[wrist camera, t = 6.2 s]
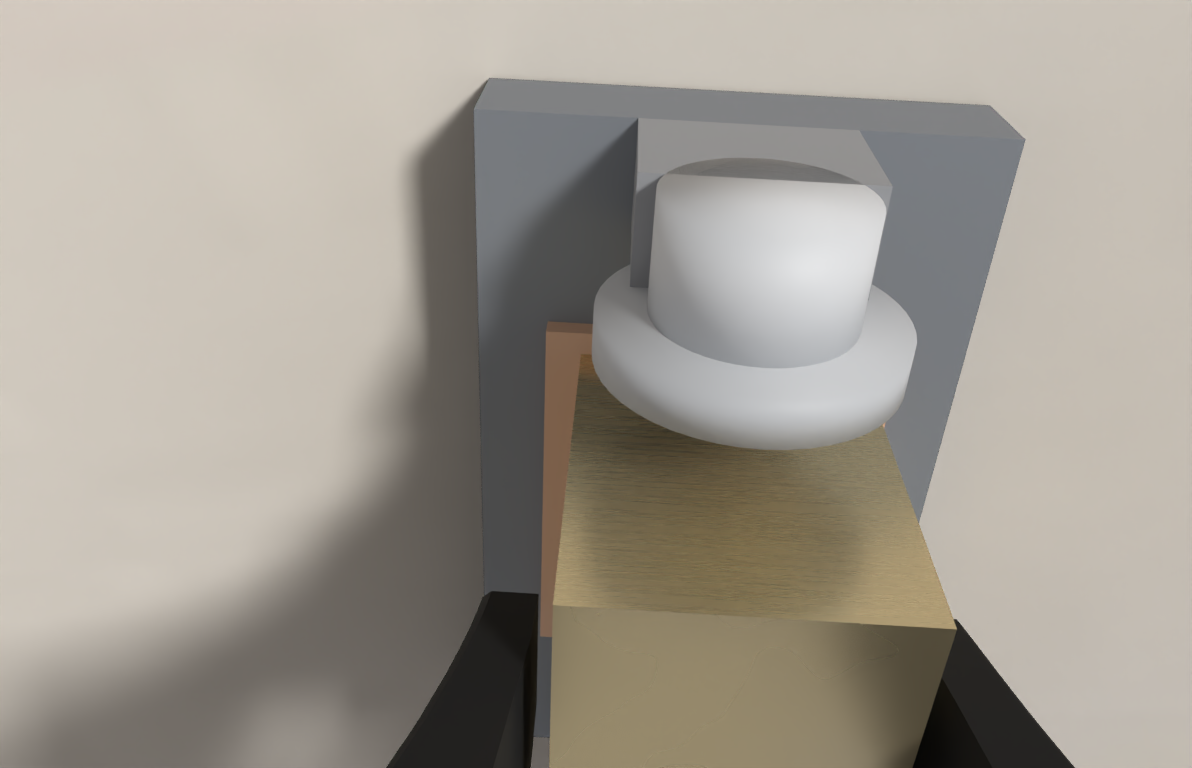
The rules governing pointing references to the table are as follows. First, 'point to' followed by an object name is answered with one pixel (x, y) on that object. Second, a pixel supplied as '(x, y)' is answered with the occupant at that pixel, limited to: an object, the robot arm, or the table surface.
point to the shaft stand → (718, 281)
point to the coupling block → (738, 602)
